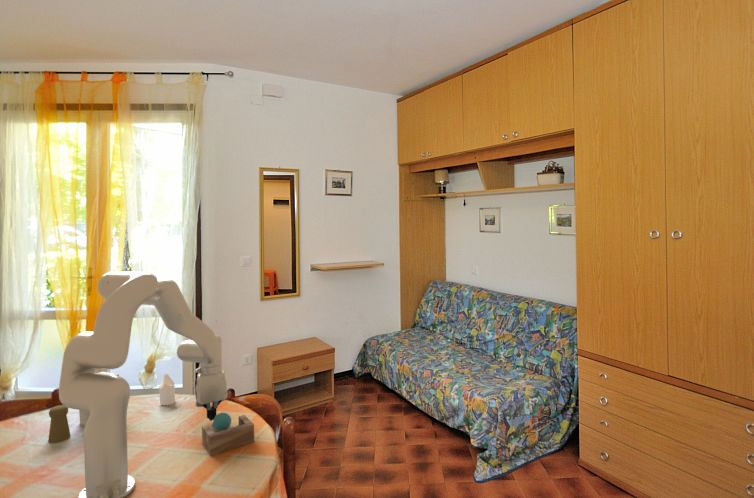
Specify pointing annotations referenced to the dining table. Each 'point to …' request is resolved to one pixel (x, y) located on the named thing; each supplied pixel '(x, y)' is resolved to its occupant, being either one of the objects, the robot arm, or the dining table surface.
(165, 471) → the dining table surface
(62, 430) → the cork
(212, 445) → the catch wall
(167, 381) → the white pointed block
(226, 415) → the ball
